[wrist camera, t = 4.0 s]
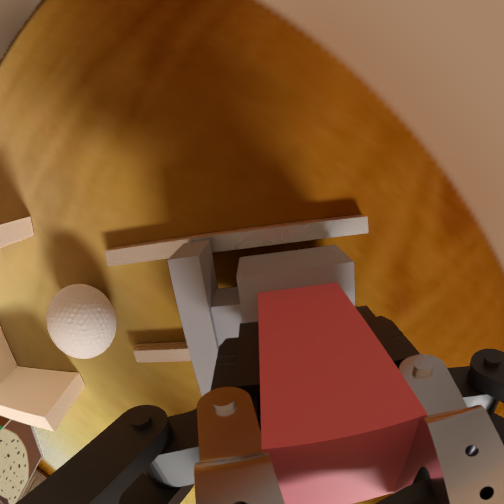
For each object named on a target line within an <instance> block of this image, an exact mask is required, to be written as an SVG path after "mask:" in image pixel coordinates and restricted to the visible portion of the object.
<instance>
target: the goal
mask: <svg viewBox="0 0 504 504" xmlns="http://www.w3.org/2000/svg"><path fill="white" fill-rule="evenodd" d="M32 236H34V232H33V227H32V222H31V216H30V217H26V218H22V219H19V220H15V221H11V222H8V223H4V224H1V225H0V248H2V247H5V246H8V245H10V244H13V243H16V242H18V241H21V240H24V239H26V238H29V237H32ZM84 388H85V384H84V382H83V380H82V378H81V376H80V374H79V373H77V372H65V371H54V370H45V369H36V368H28V367H21V366H17V364H16V361H15V359H14V357H13V355H12V353H11V350H10V348H9V346H8V343H7V341H6V339H5V336H4V334H3V331H2V329H1V326H0V416H3V417H6V418H9V419H12V420H15V421H18V422H21V423H24V424H28V425H31V426H35V427H38V428H42V429H46V430H49V431H53V432H54V431H55V430H56V428H57V427H58V425H59V424H60V422H61V421H62V419H63V418H64V416H65V415H66V413H67V412H68V410H69V409H70V408H71V406H72V405H73V403H74V402H75V400H76V399H77V397H78V396H79V395H80V393H81V392H82V390H83V389H84Z"/></svg>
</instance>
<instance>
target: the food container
mask: <svg viewBox="0 0 504 504" xmlns="http://www.w3.org/2000/svg"><path fill="white" fill-rule="evenodd" d="M42 457H43V454H42V451H41V449H40V446H39V443H38V440H37V437H36V434H35V431H34V427H33V426H31V425H28V424H24V423H21V422H18V421H15V420H12V419H9V418H6V417H3V416H0V504H15V503H16V502H18V501H19V500H20V499H21V497H22V495H23V493H24V491H25V489H26V487H27V485H28V483H29V481H30V479H31V477H32V475H33V473H34V471H35V470H36V468H37V466H38V464H39V462H40V460H41V458H42Z"/></svg>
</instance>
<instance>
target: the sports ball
mask: <svg viewBox="0 0 504 504" xmlns="http://www.w3.org/2000/svg"><path fill="white" fill-rule="evenodd" d="M46 322H47V328H48V332H49V334H50V337H51V339H52V340H53V342H54V343H55V345H56V346H57V347H58V348H59V349H60V350H61V351H63V352H64V353H65V354H67V355H69V356H71V357H74V358H79V359H89V358H93V357H96V356H98V355H100V354H102V353H103V352H104V351H105V350H106V349H107V348H108V347H109V346H110V344H111V343H112V341H113V339H114V336H115V332H116V315H115V311H114V308H113V306H112V304H111V303H110V301H109V300H108V298H107V297H106V296H105V295H104V294H103V293H102V292H101V291H99V290H98V289H96V288H94V287H92V286H89V285H86V284H73V285H69V286H66V287H64V288H63V289H61V290H60V291H59V292H57V294H56V295H55V296H54V297H53V298H52V300H51V302H50V304H49V307H48V310H47V317H46Z"/></svg>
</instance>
